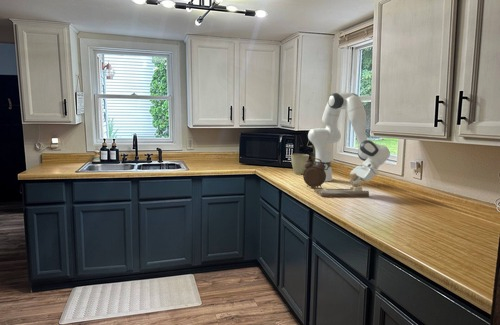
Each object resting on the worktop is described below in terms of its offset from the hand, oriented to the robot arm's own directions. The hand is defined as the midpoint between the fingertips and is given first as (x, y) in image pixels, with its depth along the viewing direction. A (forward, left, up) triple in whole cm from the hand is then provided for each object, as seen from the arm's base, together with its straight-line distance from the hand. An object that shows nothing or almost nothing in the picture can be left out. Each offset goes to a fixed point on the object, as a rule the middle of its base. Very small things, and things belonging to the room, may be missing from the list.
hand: (352, 182), depth 217 cm
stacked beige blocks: (0, +3, -5) cm, 6 cm away
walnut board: (-1, -6, -8) cm, 10 cm away
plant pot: (-75, -11, -8) cm, 77 cm away
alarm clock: (-20, -17, -8) cm, 28 cm away
